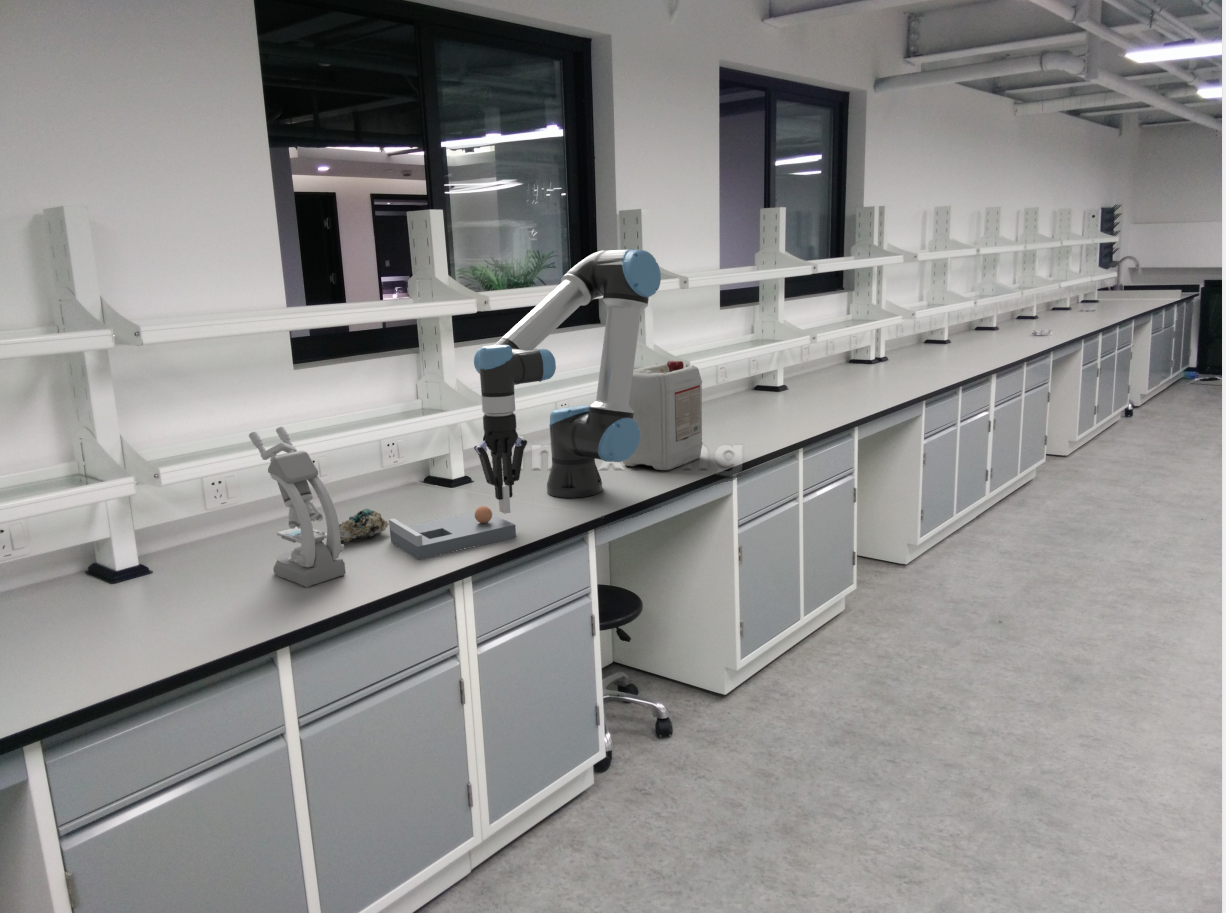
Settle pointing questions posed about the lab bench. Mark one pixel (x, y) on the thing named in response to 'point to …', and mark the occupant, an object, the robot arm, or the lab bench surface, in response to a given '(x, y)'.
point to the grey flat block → (448, 534)
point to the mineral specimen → (362, 525)
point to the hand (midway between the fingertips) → (504, 511)
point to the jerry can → (667, 415)
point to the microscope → (303, 515)
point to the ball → (483, 514)
